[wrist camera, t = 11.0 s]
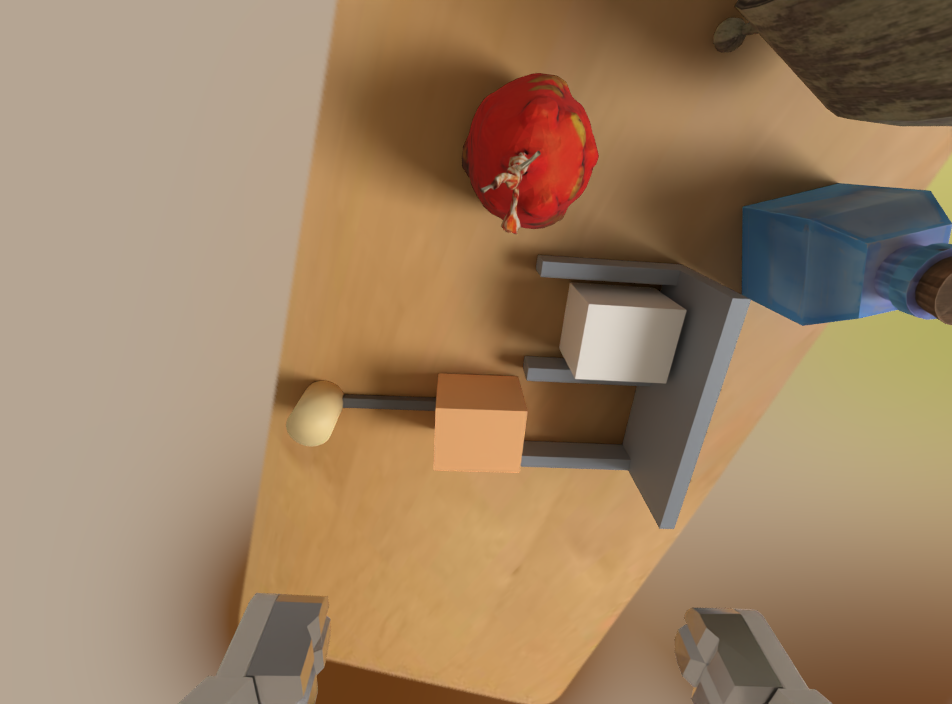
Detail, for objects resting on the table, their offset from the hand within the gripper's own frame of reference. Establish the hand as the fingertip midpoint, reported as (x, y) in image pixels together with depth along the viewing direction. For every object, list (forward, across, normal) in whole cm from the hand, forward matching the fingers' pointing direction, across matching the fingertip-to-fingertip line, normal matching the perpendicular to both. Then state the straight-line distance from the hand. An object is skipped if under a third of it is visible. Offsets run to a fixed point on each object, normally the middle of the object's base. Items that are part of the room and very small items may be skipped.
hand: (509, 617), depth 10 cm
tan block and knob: (+23, +4, +9) cm, 25 cm away
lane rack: (+23, -9, +5) cm, 25 cm away
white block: (+24, -9, +2) cm, 25 cm away
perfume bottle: (+24, -21, -5) cm, 32 cm away
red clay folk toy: (+24, -2, -9) cm, 25 cm away
